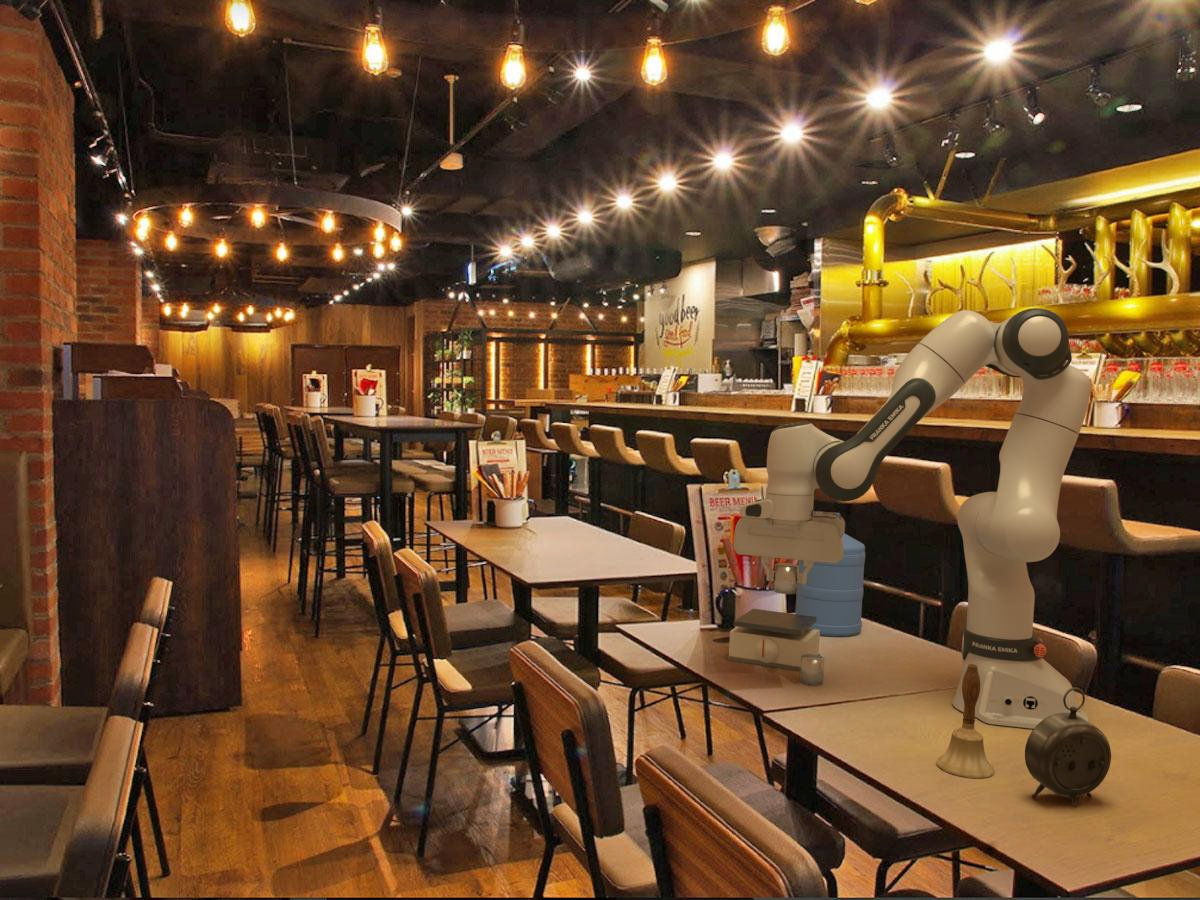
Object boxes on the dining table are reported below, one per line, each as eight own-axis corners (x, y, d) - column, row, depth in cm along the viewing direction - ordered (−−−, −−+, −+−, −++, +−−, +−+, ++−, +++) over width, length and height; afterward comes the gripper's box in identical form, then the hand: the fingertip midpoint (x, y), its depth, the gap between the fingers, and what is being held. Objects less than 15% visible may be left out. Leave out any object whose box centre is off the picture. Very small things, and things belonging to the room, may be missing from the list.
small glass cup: (825, 681, 194) (826, 656, 194) (820, 687, 190) (821, 661, 190) (802, 678, 196) (804, 653, 196) (797, 683, 192) (798, 658, 192)
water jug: (864, 639, 229) (871, 518, 227) (795, 634, 231) (801, 515, 230) (858, 624, 244) (863, 511, 243) (792, 619, 247) (798, 507, 245)
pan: (816, 626, 213) (816, 616, 212) (800, 640, 200) (800, 630, 200) (752, 617, 219) (753, 608, 218) (733, 630, 206) (733, 621, 206)
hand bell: (1003, 769, 151) (1010, 666, 150) (979, 783, 145) (985, 675, 144) (951, 754, 157) (957, 654, 156) (926, 766, 151) (932, 663, 150)
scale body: (820, 657, 212) (821, 629, 211) (805, 672, 200) (806, 643, 200) (744, 646, 219) (746, 619, 218) (726, 660, 207) (727, 631, 207)
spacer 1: (800, 590, 188) (801, 564, 187) (794, 595, 184) (795, 568, 183) (777, 588, 189) (778, 562, 189) (771, 592, 185) (772, 565, 185)
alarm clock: (1089, 792, 143) (1097, 681, 142) (1114, 808, 138) (1122, 693, 137) (1019, 794, 142) (1026, 682, 141) (1042, 810, 136) (1050, 694, 135)
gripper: (848, 511, 184) (845, 585, 185) (742, 503, 193) (739, 574, 194) (841, 514, 178) (838, 591, 179) (732, 506, 187) (729, 579, 188)
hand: (786, 582), depth 186 cm, fingers closed on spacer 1, 4 cm apart
